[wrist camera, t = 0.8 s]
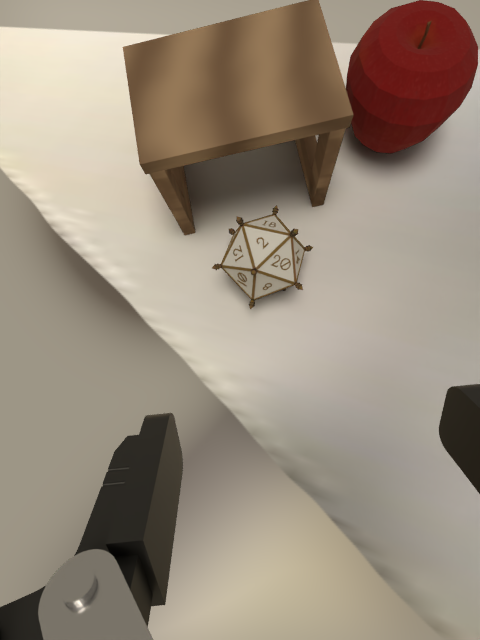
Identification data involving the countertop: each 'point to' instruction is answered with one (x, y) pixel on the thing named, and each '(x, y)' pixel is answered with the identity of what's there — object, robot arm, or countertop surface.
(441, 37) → the apple
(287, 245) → the game die
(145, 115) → the tunnel
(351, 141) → the countertop surface
